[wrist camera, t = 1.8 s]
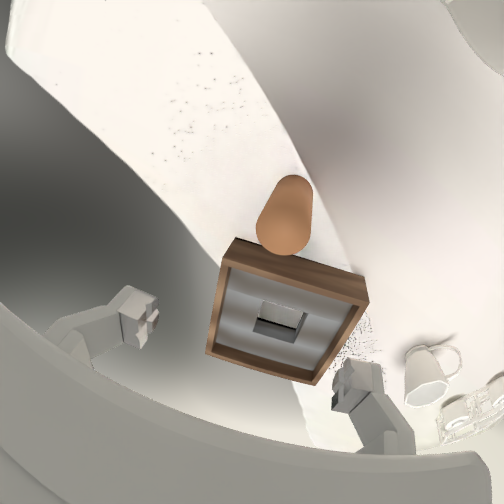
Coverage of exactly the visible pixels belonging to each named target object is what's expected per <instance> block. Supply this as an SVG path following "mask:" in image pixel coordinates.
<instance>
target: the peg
mask: <svg viewBox="0 0 504 504" xmlns="http://www.w3.org/2000/svg"><path fill="white" fill-rule="evenodd" d="M312 202H313V190H312V187H311V185H310V183H309V182H308V181H307V180H306V179H305V178H303V177H301V176H298V175H288V176H285V177H283V178H282V179H281V180H280V181H279V182H278V183H277V185H276V187H275V189H274V191H273V192H272V194H271V196H270V198H269V200H268V201H267V203H266V205H265V207H264V209H263V210H262V212H261V214H260V216H259V218H258V220H257V223H256V234H257V237H258V240H259V242H260V243H261V244H262V246H263V247H264V248H266V249H267V250H268V251H270V252H272V253H274V254H278V255H292V254H295V253H297V252H299V251H301V250H302V249H303V248H304V247H305V246H306V245H307V243H308V241H309V239H310V234H311V220H312Z"/></svg>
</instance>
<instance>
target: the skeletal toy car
mask: <svg viewBox="0 0 504 504" xmlns="http://www.w3.org/2000/svg"><path fill="white" fill-rule="evenodd" d="M487 390H488V393H487V394H485V395H483V396H481V397H479V398H478V396H477V395H479V394H481V393H483V392H485V391H487ZM472 397H474V399H475V400H473V401H472V402H470V408H467V405H466V401H465V400H467V399H470V398H472ZM489 399H490V400H491V404H492V407H493V409H491V410H489V411H488V412H485V413H483V414H482V410H481V407H480V406H481V405H483V404H484V403H485V402H486V401H487V400H489ZM476 408H477V410H478V414H479V416H478V415H477V411H476ZM502 408H503V409H502ZM500 409H502V410H501V411H500ZM469 412H471V415H472V419H470V420H469V418H470V417H469ZM496 412H497V413H496ZM494 413H496V414H494ZM492 414H494V415H493V416H491V415H492ZM503 414H504V375H503V376H501V377H499V378H497V379H495V380H494V381H492V382H491V383H489V384H488V385H486V386H485V387H483V388H481V389H479V390H476V391H474V392H472V393H470V394H467V395H465V396H463V397H461V398H459V399H457V400H455V401H454V402H452V403H450V404H449V405H447V406H445V407H443V408H442V409H441V413H440V415H439V416H438V418H437V420H436V421H437V427H438V433H439V440H440V445H441V446H443V445H447V444H450V443H455V442H458V441H460V440H462V439H465V438H467V437H469V436H472V435H474V434H476V433H478V432H479V431H481V430H483V429H485V428H487V427H488V426H489V425H490V424H492V423H493V422H494V421H496V420H497V419H499V418H500V417H501V416H502V415H503ZM489 416H491V417H489ZM442 417H443V418H442ZM487 417H489V418H487ZM484 418H487V419H485V420H483V421H481V422H479V421H480V420H482V419H484ZM442 422H444V426H445V429H446V430H449V431H447V432H445V436H444V437H442V430H441V424H440V423H442ZM471 424H474V428H475V429H474V430H472V431H470V432H467V433H465V434H463V435H460V436H458V437H455V432H457V431H459V430H461V429H463V428H465V427H467V426H469V425H471ZM450 435H452V438H450V439H448V436H450Z"/></svg>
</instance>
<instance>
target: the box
mask: <svg viewBox="0 0 504 504" xmlns="http://www.w3.org/2000/svg"><path fill="white" fill-rule="evenodd" d="M263 300H265V301H269V302H272V303H275V304H278V305H282V306H285V307H288V308H292V309H295V310H298V311H302V312H303V315H302V317H301V319H300V321H299V323H298V325H297V328H293V327H289V326H286V325H282V324H279V323H276V322H272V321H269V320H266V319H263V318H259V317H257V316H258V313H259V310H260V307H261V304H262V301H263ZM369 303H370V302H369V297H368V292H367V287H366V283H365V278H364V277H363V276H359V275H356V274H353V273H350V272H347V271H344V270H341V269H337V268H334V267H331V266H328V265H325V264H321V263H318V262H315V261H312V260H309V259H305V258H302V257H299V256H296V255H293V254H292V255H278V254H274V253H272V252H270V251H268V250H267V249H266V248H264V247H263V246H262V245H260V244H257V243H254V242H250V241H247V240H244V239H240V238H237V237H235V239H234V240H233V242H232V243H231V245H230V246H229V248H228V250H227V251H226V253H225V254H224V256H223V258H222V262H221V268H220V273H219V279H218V283H217V289H216V294H215V300H214V305H213V311H212V316H211V322H210V328H209V333H208V339H207V345H206V351H205V354H207V355H210V356H213V357H216V358H219V359H222V360H225V361H228V362H231V363H234V364H237V365H240V366H243V367H246V368H250V369H253V370H257V371H260V372H263V373H267V374H270V375H274V376H278V377H281V378H285V379H288V380H292V381H296V382H300V383H304V384H309V385H313V386H315V385H316V384H317V383H318V381H319V380H320V379H321V377H322V376H323V374H324V373H325V372H326V370H327V369H328V367H329V366H330V365H331V363H332V362H333V360H334V359H335V357H336V356H337V354H338V353H339V351H340V350H341V348H342V347H343V345H344V344H345V342H346V341H347V339H348V338H349V336H350V334H351V333H352V331H353V330H354V328H355V326H356V325H357V323H358V321H359V320H360V318H361V317H362V315H363V313H364V311H365V310H366V308H367V306H368V305H369Z"/></svg>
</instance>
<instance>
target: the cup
mask: <svg viewBox="0 0 504 504" xmlns="http://www.w3.org/2000/svg"><path fill="white" fill-rule="evenodd" d="M437 349H445V350H452V351H455V352H456V353H457V354H458V355H459V358H460V364H459V367H458V369H457V371H456V372H455V373H453V374H450V375H446V376H445V375H444V373H443V371H442V369H441V367H440V365H439V363H438V361H437V360H436V358H435V357H434V356H433V354H432V353H430V351H432V350H437ZM405 362H406V369H405V396H404V404H405V405H407V406H410V407H412V408H419V407H424V406H428V405H432V404H433V403H435V402H436V401H438V400H439V399H441V398H442V397H444V396H445V395H446V392H447V390H448V388H449V383H448V381H450V380H452V379H453V378H455V377H456V376H457V375H458V374H459V373H460V371H461V368H462V358H461V354H460V351H459V350H458V349H457V348H456V347H453V346H449V345H434V346H431V347H429V348H428V347H427V346H425V345H420V346H415V347H413V348H412V349H411V350H409V351H408V352H407V353H406V357H405Z"/></svg>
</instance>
